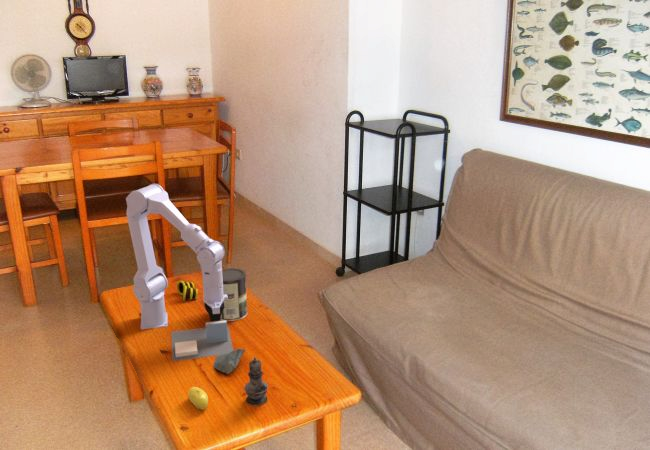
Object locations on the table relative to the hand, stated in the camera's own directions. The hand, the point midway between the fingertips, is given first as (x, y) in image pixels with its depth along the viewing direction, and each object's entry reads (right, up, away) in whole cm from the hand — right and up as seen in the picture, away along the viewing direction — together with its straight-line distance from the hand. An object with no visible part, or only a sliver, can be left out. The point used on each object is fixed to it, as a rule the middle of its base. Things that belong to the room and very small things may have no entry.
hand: (215, 325), depth 178 cm
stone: (+6, -9, -15) cm, 18 cm away
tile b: (+1, -4, -3) cm, 5 cm away
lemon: (+2, -14, -31) cm, 34 cm away
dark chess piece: (+16, -14, -29) cm, 36 cm away
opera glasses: (-14, +5, +28) cm, 32 cm away
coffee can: (+2, +1, +14) cm, 15 cm away
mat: (-4, -5, -3) cm, 7 cm away
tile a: (-8, -4, -6) cm, 10 cm away
